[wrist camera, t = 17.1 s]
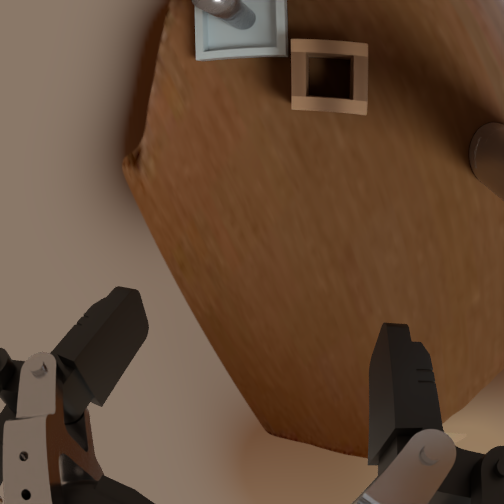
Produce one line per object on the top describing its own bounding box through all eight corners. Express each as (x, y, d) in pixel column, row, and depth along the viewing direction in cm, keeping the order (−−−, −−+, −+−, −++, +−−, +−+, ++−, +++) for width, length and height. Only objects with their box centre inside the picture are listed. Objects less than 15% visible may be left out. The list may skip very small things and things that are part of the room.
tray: (286, -19, 27) (283, -26, 25) (288, 57, 33) (285, 54, 31) (201, -11, 30) (194, -16, 27) (203, 61, 35) (196, 60, 33)
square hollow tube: (362, 50, 30) (367, 43, 25) (361, 111, 34) (366, 115, 29) (296, 46, 32) (290, 38, 27) (296, 106, 36) (291, 109, 31)
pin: (255, 6, 29) (224, -23, 19) (256, 28, 31) (225, 6, 21) (230, 9, 30) (191, -17, 20) (231, 30, 32) (191, 11, 22)
